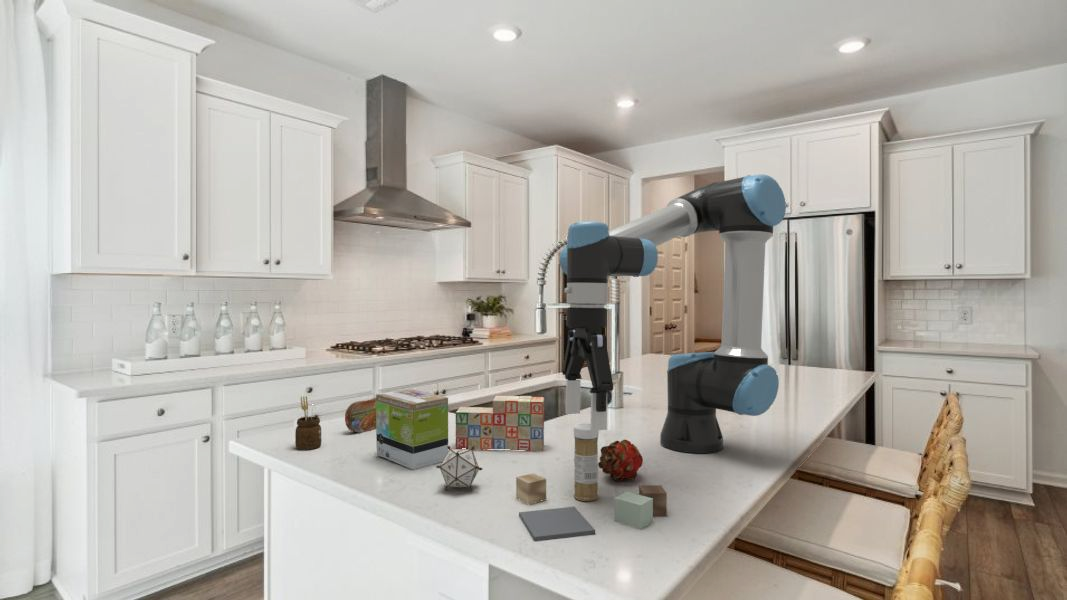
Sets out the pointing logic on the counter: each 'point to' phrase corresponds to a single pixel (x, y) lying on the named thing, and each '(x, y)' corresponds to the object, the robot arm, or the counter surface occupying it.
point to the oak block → (530, 488)
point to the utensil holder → (307, 430)
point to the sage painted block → (633, 510)
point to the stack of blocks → (502, 424)
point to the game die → (459, 468)
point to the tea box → (412, 428)
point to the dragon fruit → (620, 460)
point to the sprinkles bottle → (586, 462)
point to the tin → (361, 416)
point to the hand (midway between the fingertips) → (584, 421)
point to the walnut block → (655, 498)
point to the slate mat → (556, 523)
